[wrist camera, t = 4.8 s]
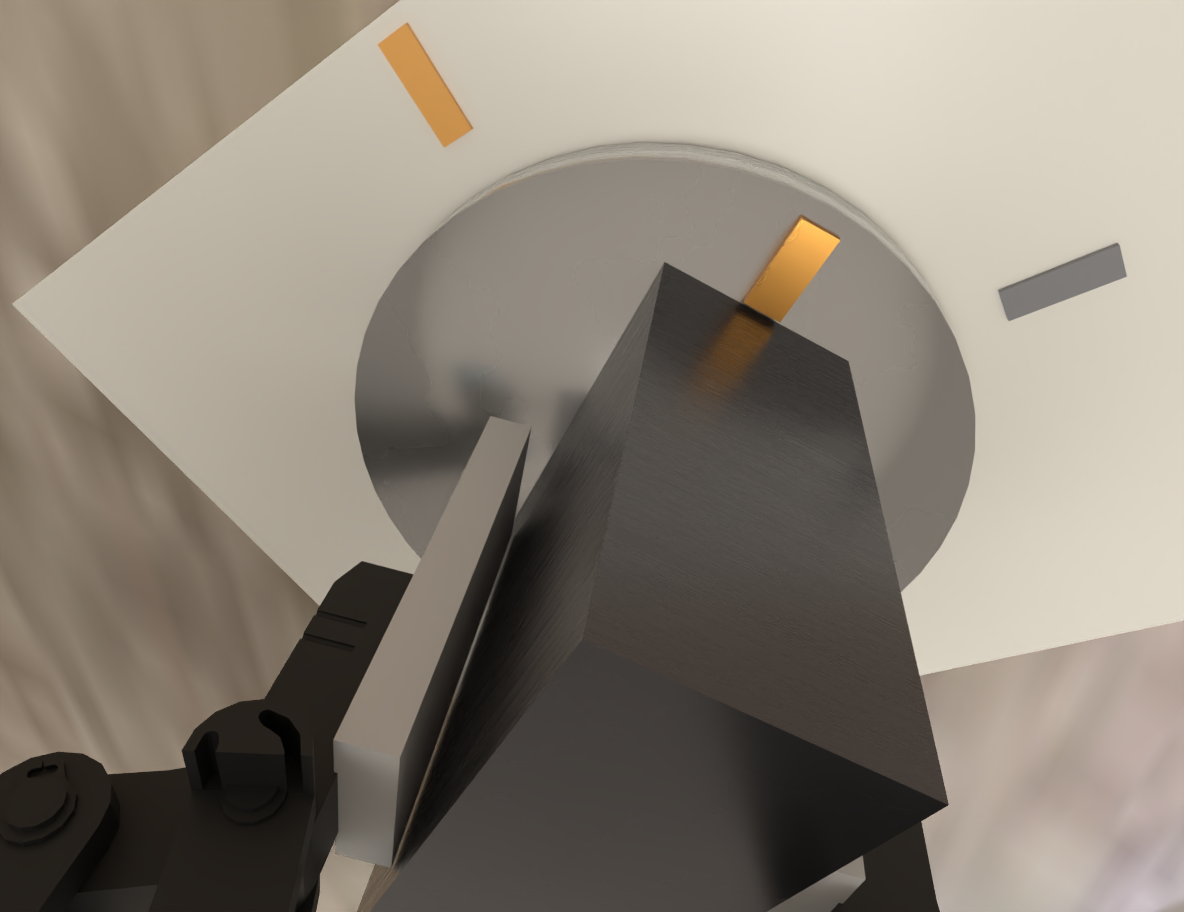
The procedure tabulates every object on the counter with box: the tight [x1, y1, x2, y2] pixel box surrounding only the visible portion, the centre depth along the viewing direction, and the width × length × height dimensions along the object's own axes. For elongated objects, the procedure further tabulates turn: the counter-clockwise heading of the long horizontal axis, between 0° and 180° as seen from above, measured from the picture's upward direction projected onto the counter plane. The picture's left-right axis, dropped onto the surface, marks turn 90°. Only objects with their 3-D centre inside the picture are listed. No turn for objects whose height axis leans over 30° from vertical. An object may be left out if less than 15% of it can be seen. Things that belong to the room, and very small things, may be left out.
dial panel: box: [12, 0, 1184, 676], centre depth 17 cm, size 22×18×2 cm
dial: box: [354, 143, 975, 912], centre depth 12 cm, size 12×12×9 cm
